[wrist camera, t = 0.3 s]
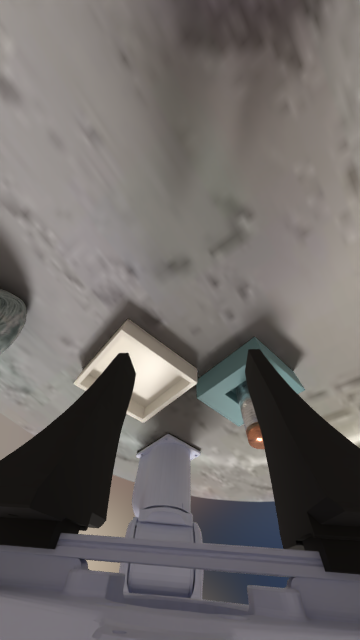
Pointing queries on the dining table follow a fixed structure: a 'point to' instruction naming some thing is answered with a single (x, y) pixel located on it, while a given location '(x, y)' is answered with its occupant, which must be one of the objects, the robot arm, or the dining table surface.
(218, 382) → the teal socket block
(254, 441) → the copper-capped cylinder
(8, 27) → the dining table surface
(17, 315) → the grey green streaked cylinder
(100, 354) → the tray
